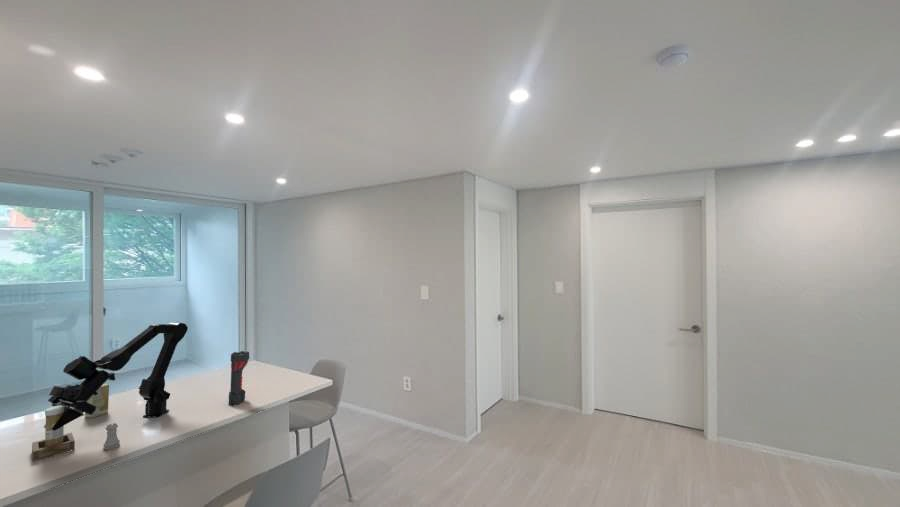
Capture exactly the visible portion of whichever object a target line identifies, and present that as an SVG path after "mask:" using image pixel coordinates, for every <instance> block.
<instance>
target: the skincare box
mask: <svg viewBox="0 0 900 507" xmlns="http://www.w3.org/2000/svg"><path fill="white" fill-rule="evenodd" d="M97 393H98V394H97V395H93V396H92V397H91V398H90V399H89V400H88V401H87V402H88V403H90V404H92V405H94V406H96V411H95V412H94V413H93V414H92V415H89V414H86V412H84V418H91V419H92V418H95V417H99V416H102V415H105V414H107V413H109V400H110V399H109V396H110V384H107V383H104V384H103V385H102V386H101V387H100V388H99V389H98V390H97Z"/></svg>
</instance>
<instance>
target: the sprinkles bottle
mask: <svg viewBox="0 0 900 507" xmlns="http://www.w3.org/2000/svg"><path fill="white" fill-rule="evenodd" d="M63 413H64V406H54V407H53V406H50V407H47V408H46V409H45V410H44V416H45V424H46V425H45V424H44V426H45V428H44V433H45V434H44V439H45V447H48V446H52V445H56V444H60V443H63V435H64V434H65V433H64V432H65V431H64V429H65V425H64V426H62V427H60V428H59V429H57V430H55V431H54V430H52V428H53V426H54V425H55V424H56V422H57V421H58V420H59V419H60V417H61V416H62V415H63Z"/></svg>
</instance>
